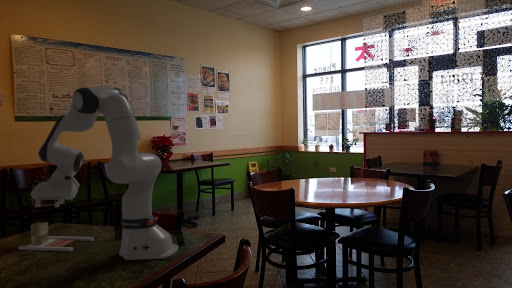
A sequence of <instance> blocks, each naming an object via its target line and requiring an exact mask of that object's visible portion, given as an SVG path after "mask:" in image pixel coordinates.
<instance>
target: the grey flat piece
mask: <svg viewBox="0 0 512 288" xmlns="http://www.w3.org/2000/svg"><path fill="white" fill-rule="evenodd" d="M48 240H49V242H47V243H45V244H42V245H32V244H31V243H29V244H26V245H20V246H18V248H17V250H20V251H21V250H22V251H48V252H49V251H50V252H54V251H55V252H73V251H74V247H71V246H69V247H68V246H67V245H68V244H70V243H71V244H72V243H73V242H76V241H87V242H90V241H91V242H93V241H94V240H95V239H94V236H61V235H58V236H57V235H56V236H53V235H48ZM64 246H65V247H64Z"/></svg>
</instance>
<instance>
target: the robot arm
mask: <svg viewBox="0 0 512 288" xmlns="http://www.w3.org/2000/svg"><path fill="white" fill-rule="evenodd" d="M71 99H72V104H71V105H70V108H69V111H68V113H66V114H62V115H61V116H59V118H58V119H57V120H56V121H55V123H54V125H53V126H52V128H51V129H50V131H49V134H48V135H47V137H46V139H45V141H44V142H43V144H42V145H41V146H40V147H39V150H38V157H39V158H40V160H41V161H42V162H45V163H49V164H53V165H56V166H57V167H56V170H54V172H53V173H52V175H51V176H50V178H49V180H48V181H45V180H43V181H41V182H39V183H38V184H37V185H36V186H35V187H34V188H33V190H32V191H31V192H30V197H32V199H33V200H34V201H35V203H34V207H35V208H39V207H40V206H41V205H42V204H41V201H42V200H46V201H47V200H50V201H51V200H52V201H53V200H54V201H55V200H56V201H55V202H54V204H53V206H54V208H59V207H60V205H62V204H63V203H65V201H66V200H71V201H72V200H73V199H74V198H75V197H76V195H77V193H78V190H79V187H81V186H80V183H79V182H78V180H77V179H76V178H75V177H74V176H75V175H76V174H77V173H78V171H80V170H81V167H82V166H83V164H84V161H85V156H84V154H83V152H82V151H81V150H79V149H76V148H75V147H70V146H67V145H64V144H62V143H60V142H58V140H59V138H60V136H61V134H62V133H63V132H74V133H82V132H87V131H89V130H90V129H92V128H93V127H94V125H95V123H96V121H97V117H98V115H99V114H100V115H103V117H104V120H105V124H106V127H107V130H108V134H109V138H110V142H111V147H112V149H111V156H110V159H109V161H108V162H107V164H106V171H105V172H106V175H107V177H108V179H109V181H111V182H113V183H114V184H121V185H122V184H124V185H125V184H126V185H127V184H128V188H127V190H126V191H125V193H124V194H123V196H122V198H121V209H122V211H121V213H122V217H121V219H120V220H121V231H122V237H121V245H120V250H119V253H118V254H119V256H120V257H122V258H123V259H124V260H125V261H129V260H130V261H131V260H132V261H134V260H138V261H139V260H156V259H157V260H159V259H167V258H169V257H171V256H173V255H175V254H176V253H177V252H178V251H179V246H178V245H177V244H174V243H173V239H172V236H171V234H170V233H169V232H168V231H166V230H165V229H164V228H162V227H161V226H160V225H158V224H157V220H158V219H159V216H156V217H155V216H154V215H153V213H152V212H153V211H152V207H153V206H152V198H153V190H154V186H155V182H156V180H157V177H158V175H159V174H160V172H161V171H162V161H161V159H160V157H159V156H158V155H156V154H153V153H150V152H140V153H139V152H138V142H139V141H140V139H141V133H140V132H141V131H140V129H139V126H138V123H137V120H136V117H135V113H134V111H133V109H132V107H131V104H130V103H129V97H128V94H127V93H126V91H125V90H123V89H121V88H119V87H105V86H104V87H103V86H92V87H87V86H85V87H80V88H77V89H75V91H74V92H73V95H72V98H71Z"/></svg>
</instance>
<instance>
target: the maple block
mask: <svg viewBox="0 0 512 288" xmlns="http://www.w3.org/2000/svg"><path fill="white" fill-rule="evenodd" d="M48 236H49V223H48V221H46V222H43V221H42V222H39V221H38V222H35V223H33V224H30V240H31V241H30V242H31V243H30V244H32V245H42V244H45V243H47V242H49V240H48Z"/></svg>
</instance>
